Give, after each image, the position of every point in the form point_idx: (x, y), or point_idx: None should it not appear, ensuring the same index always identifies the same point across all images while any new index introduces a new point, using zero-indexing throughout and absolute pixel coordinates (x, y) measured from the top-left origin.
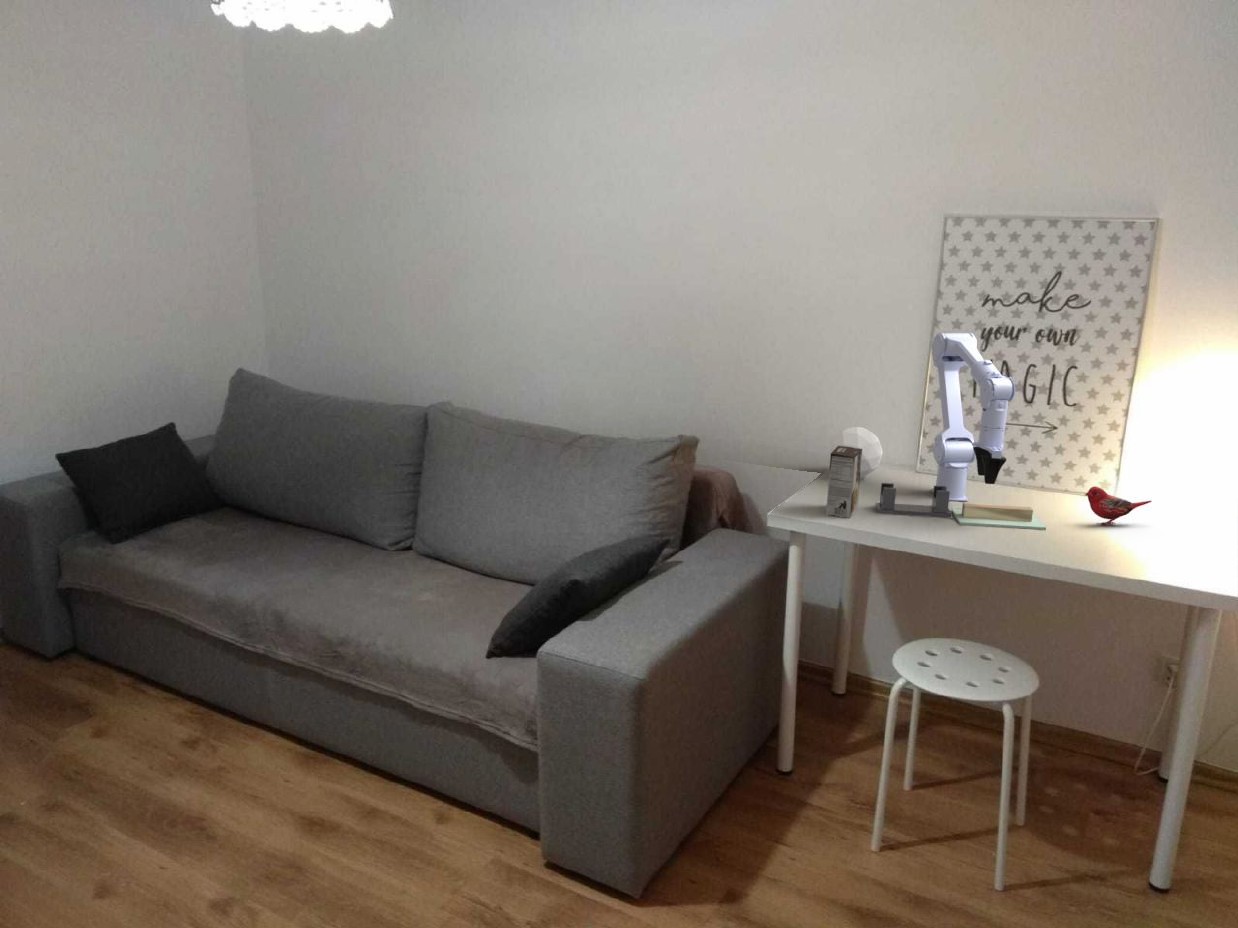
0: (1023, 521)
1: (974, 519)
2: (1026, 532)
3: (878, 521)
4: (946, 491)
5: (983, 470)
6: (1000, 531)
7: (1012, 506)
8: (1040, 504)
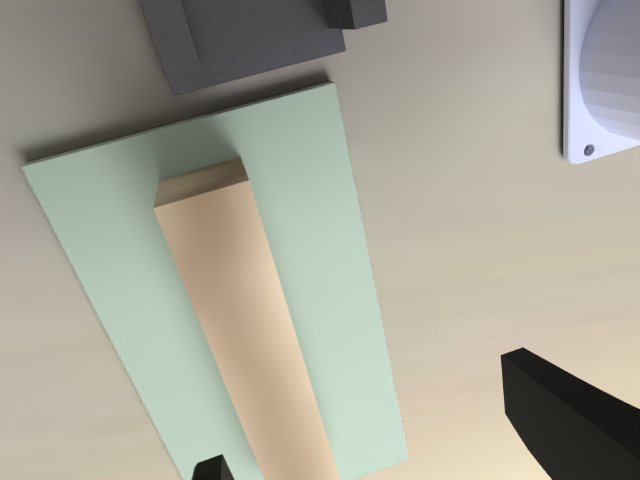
0: None
1: (155, 244)
2: (113, 475)
3: None
4: (167, 38)
5: (538, 423)
6: (42, 383)
7: (307, 448)
8: None
